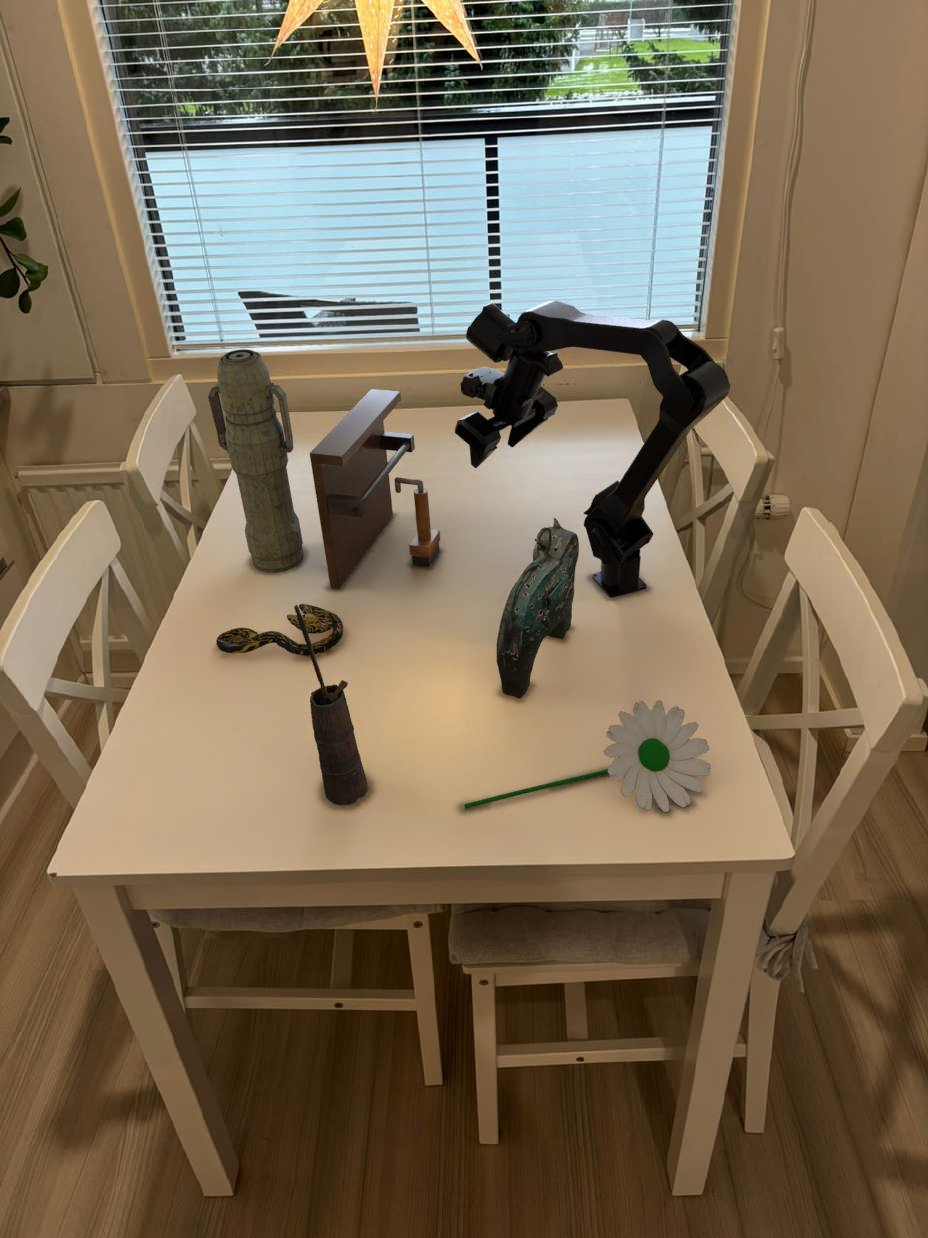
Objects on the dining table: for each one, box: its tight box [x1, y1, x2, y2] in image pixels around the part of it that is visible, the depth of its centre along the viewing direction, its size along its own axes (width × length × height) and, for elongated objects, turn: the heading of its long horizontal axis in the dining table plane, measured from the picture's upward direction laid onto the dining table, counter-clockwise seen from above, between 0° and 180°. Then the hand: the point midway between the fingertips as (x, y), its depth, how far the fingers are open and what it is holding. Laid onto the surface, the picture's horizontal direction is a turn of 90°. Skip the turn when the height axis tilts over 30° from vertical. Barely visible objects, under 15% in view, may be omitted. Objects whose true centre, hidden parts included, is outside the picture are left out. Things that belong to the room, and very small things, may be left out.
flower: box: [463, 700, 712, 813], centre depth 110 cm, size 13×6×30 cm
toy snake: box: [215, 603, 344, 657], centre depth 135 cm, size 18×5×10 cm
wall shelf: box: [309, 388, 416, 590], centre depth 149 cm, size 7×24×24 cm, turn 163°
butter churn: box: [293, 604, 369, 806], centre depth 105 cm, size 9×10×28 cm
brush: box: [393, 476, 441, 568], centre depth 149 cm, size 6×6×14 cm
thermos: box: [207, 348, 305, 574], centre depth 145 cm, size 9×12×35 cm
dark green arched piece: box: [496, 517, 580, 700], centre depth 125 cm, size 20×6×20 cm, turn 152°
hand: (492, 455), depth 150 cm, fingers open, 9 cm apart
